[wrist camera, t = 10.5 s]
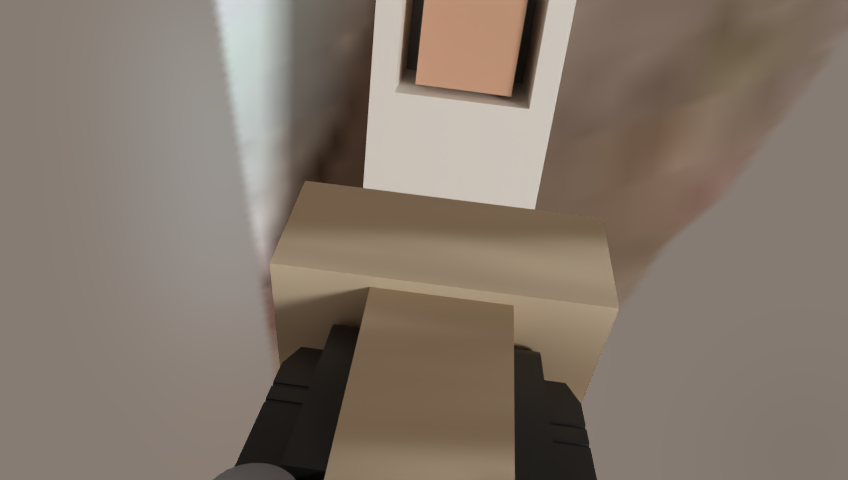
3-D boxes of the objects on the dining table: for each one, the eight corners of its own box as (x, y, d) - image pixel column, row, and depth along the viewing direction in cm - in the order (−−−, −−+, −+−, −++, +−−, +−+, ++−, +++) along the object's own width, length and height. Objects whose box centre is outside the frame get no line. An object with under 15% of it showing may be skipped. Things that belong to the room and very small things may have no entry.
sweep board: (398, -87, 28) (382, -90, 23) (571, -67, 27) (589, -66, 23) (367, 298, 36) (351, 350, 32) (499, 315, 36) (502, 370, 32)
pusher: (304, 180, 13) (98, 661, 6) (603, 218, 13) (699, 750, 6) (309, 287, 15) (155, 740, 8) (568, 320, 15) (615, 808, 8)
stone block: (423, 65, 30) (433, -26, 28) (507, 76, 30) (522, -15, 28) (415, 84, 27) (426, -19, 25) (511, 96, 26) (528, -6, 25)
